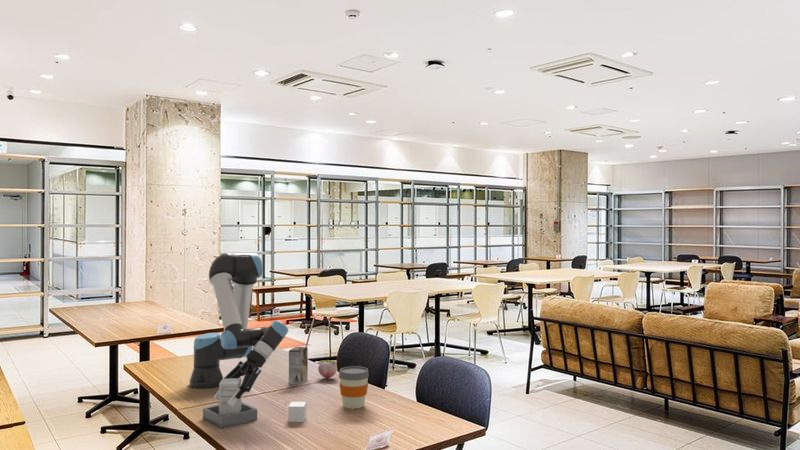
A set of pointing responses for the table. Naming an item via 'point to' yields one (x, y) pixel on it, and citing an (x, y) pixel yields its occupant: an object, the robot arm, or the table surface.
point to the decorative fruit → (327, 368)
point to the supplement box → (228, 396)
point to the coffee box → (298, 365)
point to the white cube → (297, 412)
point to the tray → (229, 416)
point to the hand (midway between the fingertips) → (223, 401)
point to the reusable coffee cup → (353, 386)
